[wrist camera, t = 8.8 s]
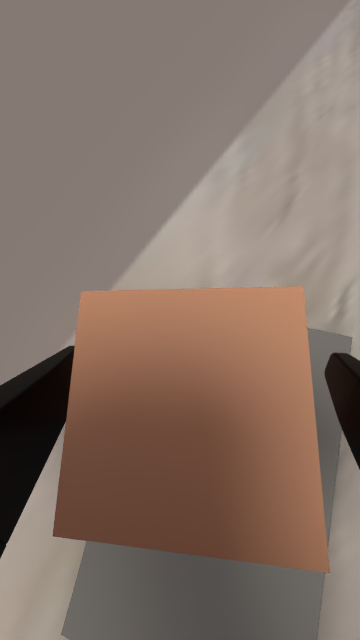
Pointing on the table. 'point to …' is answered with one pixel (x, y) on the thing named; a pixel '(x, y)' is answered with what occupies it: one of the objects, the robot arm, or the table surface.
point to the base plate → (210, 569)
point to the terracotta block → (194, 426)
